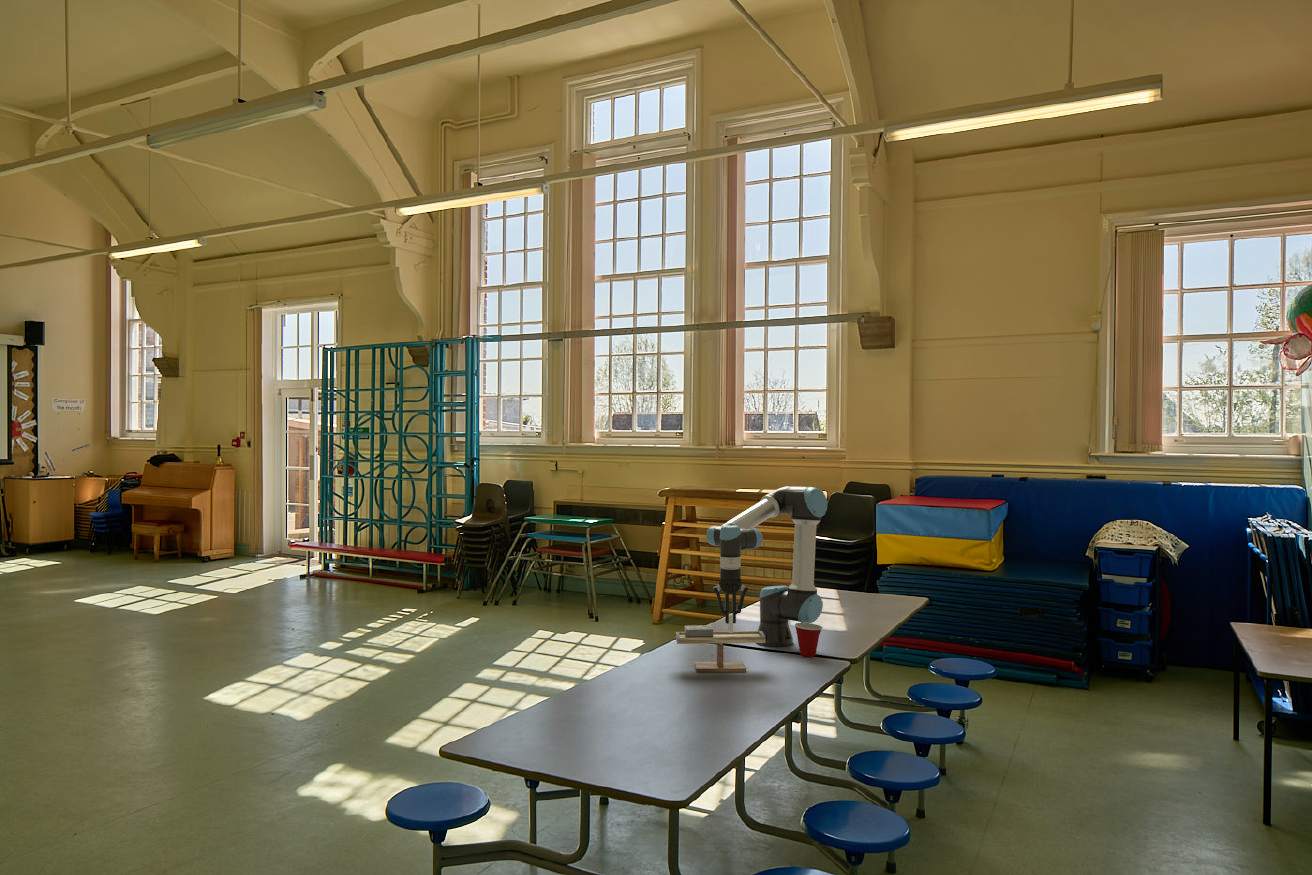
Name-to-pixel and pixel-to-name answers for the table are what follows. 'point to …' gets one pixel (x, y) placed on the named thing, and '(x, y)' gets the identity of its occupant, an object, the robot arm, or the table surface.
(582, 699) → the table surface
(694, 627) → the iron block
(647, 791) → the table surface
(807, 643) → the plastic cup
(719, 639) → the seesaw beam
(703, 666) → the seesaw stand
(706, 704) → the table surface
